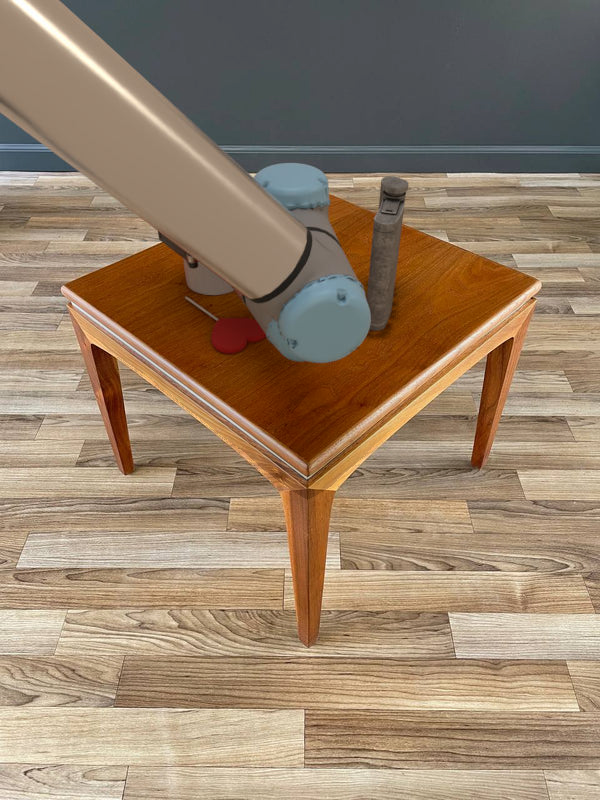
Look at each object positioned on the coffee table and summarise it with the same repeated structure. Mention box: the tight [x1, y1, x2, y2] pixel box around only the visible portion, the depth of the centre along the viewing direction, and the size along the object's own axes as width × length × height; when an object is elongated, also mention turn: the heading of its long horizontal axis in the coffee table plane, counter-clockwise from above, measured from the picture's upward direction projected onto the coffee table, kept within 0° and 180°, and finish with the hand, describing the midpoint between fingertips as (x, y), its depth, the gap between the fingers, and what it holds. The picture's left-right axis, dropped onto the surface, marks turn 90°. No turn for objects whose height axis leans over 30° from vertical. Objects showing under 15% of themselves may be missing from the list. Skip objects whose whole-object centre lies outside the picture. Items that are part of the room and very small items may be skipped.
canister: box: [182, 258, 235, 296], centre depth 94 cm, size 9×9×9 cm
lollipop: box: [184, 296, 267, 355], centre depth 88 cm, size 8×1×15 cm
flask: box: [366, 175, 409, 332], centre depth 86 cm, size 4×14×18 cm, turn 170°
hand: (198, 196), depth 92 cm, fingers open, 9 cm apart
